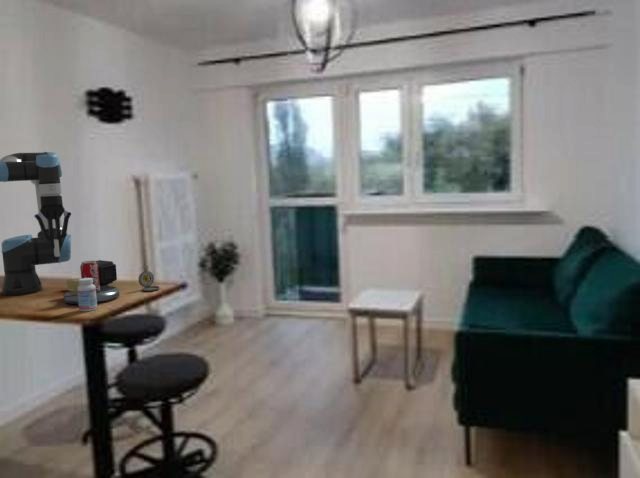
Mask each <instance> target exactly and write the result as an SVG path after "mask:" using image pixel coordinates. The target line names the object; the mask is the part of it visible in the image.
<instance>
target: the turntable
mask: <svg viewBox="0 0 640 478" xmlns="http://www.w3.org/2000/svg"><path fill="white" fill-rule="evenodd" d="M66 285H67V286H66V288H67V291H69V292H66V293H64V294H63V301H64V303H67V304H71V305H72V304H74V305H79V303H78V291H77V288H78V286H80V284H79V279H67V280H66ZM119 296H120V288H119V287H115V286H108V287H100V290H99V291H98V292H96V298H97V303H100V302H107V301H110V300H114V299H116V298H118V297H119Z"/></svg>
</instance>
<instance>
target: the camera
mask: <svg viewBox="0 0 640 478" xmlns="http://www.w3.org/2000/svg"><path fill="white" fill-rule="evenodd" d="M95 261H96V263H97V265H98V274H99V285H100V287H109V285H111V284H113V283H114V282H116V281H117V280H118V276H117V275H118V274H117V265H116V264H115V263H114V262H113V261H111V260H110V261H109V260H100V259H98V260H95Z"/></svg>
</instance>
